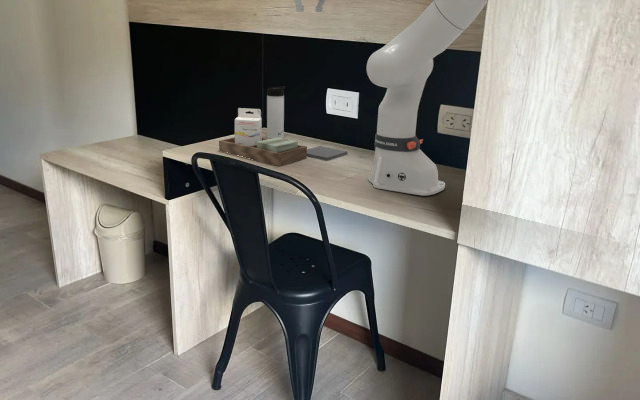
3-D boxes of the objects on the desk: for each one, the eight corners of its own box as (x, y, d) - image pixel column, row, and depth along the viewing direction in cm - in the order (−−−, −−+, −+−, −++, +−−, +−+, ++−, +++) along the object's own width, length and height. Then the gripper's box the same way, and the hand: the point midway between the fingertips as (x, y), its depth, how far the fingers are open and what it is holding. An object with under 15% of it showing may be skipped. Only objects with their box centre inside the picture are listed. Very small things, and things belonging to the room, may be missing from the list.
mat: (347, 154, 193) (347, 151, 193) (327, 160, 184) (327, 157, 184) (319, 148, 200) (319, 145, 199) (298, 154, 191) (298, 151, 190)
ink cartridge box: (234, 153, 190) (233, 110, 185) (237, 149, 195) (237, 107, 190) (259, 154, 189) (258, 111, 185) (262, 151, 194) (261, 108, 189)
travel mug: (283, 141, 209) (284, 87, 202) (266, 141, 209) (266, 87, 202) (285, 138, 214) (285, 85, 208) (268, 137, 215) (268, 85, 208)
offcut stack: (299, 158, 186) (299, 141, 184) (278, 165, 178) (278, 146, 176) (276, 153, 192) (276, 136, 190) (254, 159, 184) (254, 141, 182)
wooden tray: (306, 158, 186) (306, 146, 185) (279, 166, 176) (279, 154, 174) (247, 145, 201) (247, 134, 200) (219, 152, 191) (218, 140, 189)
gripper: (297, -41, 154) (296, 11, 159) (339, -35, 170) (337, 12, 175) (279, -41, 158) (279, 11, 162) (322, -35, 174) (321, 12, 178)
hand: (309, 12), depth 169 cm, fingers open, 8 cm apart
